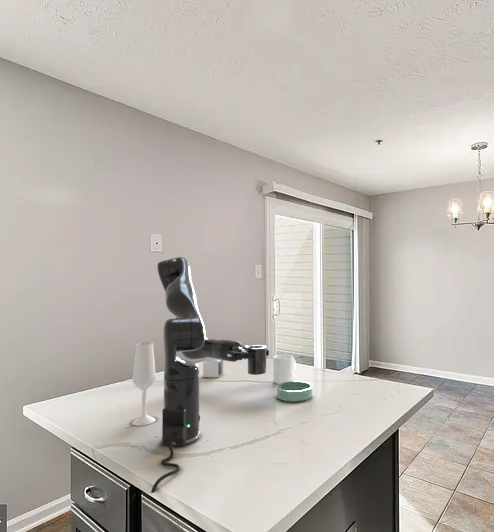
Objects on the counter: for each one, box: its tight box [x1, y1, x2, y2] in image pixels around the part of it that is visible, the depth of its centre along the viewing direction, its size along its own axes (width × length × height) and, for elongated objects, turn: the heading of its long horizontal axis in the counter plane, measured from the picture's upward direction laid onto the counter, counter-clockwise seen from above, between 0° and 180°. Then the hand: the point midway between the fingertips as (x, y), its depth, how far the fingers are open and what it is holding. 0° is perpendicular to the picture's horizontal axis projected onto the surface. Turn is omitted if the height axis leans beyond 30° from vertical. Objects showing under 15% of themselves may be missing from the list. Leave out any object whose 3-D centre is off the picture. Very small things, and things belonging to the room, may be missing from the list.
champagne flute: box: [131, 341, 157, 427], centre depth 117 cm, size 7×7×24 cm
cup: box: [247, 344, 267, 376], centre depth 134 cm, size 6×6×9 cm
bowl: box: [276, 380, 313, 403], centre depth 141 cm, size 13×13×4 cm
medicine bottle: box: [202, 357, 224, 378], centre depth 171 cm, size 7×7×12 cm
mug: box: [272, 353, 297, 385], centre depth 162 cm, size 9×12×11 cm
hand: (262, 354), depth 133 cm, fingers closed on cup, 6 cm apart
